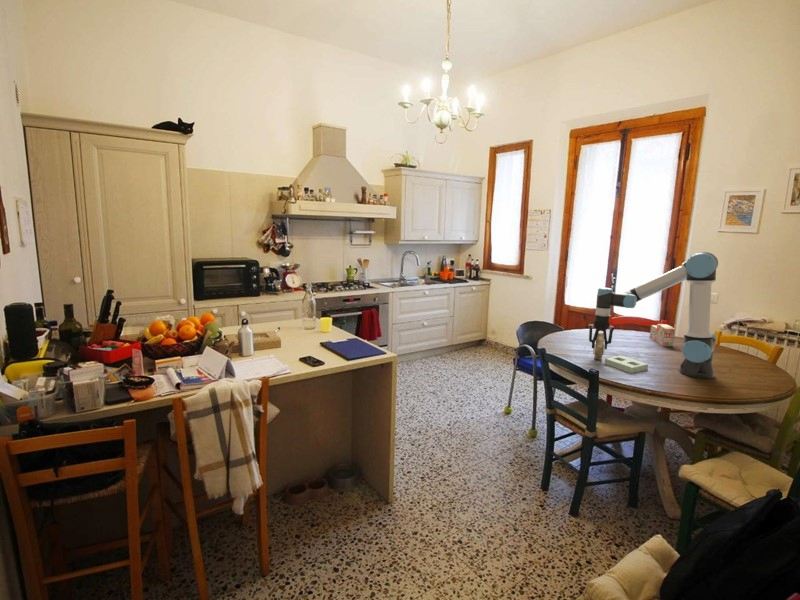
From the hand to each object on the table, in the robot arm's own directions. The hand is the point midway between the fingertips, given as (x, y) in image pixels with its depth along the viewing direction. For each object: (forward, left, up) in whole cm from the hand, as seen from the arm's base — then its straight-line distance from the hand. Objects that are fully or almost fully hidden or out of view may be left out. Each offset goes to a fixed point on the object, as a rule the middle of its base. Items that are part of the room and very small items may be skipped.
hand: (598, 354), depth 239 cm
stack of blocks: (+8, -74, -4) cm, 75 cm away
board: (-15, -4, -3) cm, 16 cm away
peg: (0, 0, -3) cm, 3 cm away
